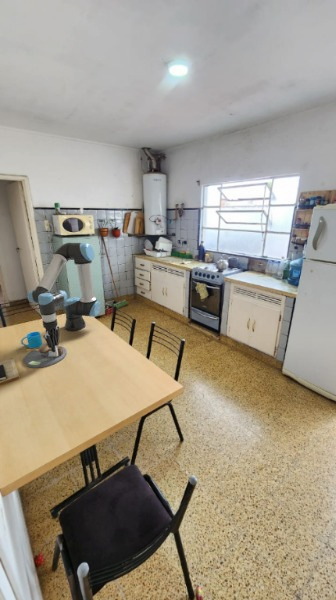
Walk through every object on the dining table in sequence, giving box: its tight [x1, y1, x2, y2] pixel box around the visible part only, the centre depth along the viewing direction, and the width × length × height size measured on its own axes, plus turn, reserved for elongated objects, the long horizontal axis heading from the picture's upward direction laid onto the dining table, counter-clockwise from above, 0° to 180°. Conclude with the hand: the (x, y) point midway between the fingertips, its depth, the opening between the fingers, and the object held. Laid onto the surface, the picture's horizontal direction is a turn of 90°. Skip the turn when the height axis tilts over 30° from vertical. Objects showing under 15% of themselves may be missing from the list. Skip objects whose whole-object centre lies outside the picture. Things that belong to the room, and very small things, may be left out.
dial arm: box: [25, 345, 63, 355], centre depth 154 cm, size 22×6×4 cm, turn 91°
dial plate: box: [22, 345, 68, 369], centre depth 155 cm, size 24×24×4 cm
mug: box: [20, 331, 43, 349], centre depth 166 cm, size 12×8×8 cm
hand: (55, 355), depth 152 cm, fingers closed
